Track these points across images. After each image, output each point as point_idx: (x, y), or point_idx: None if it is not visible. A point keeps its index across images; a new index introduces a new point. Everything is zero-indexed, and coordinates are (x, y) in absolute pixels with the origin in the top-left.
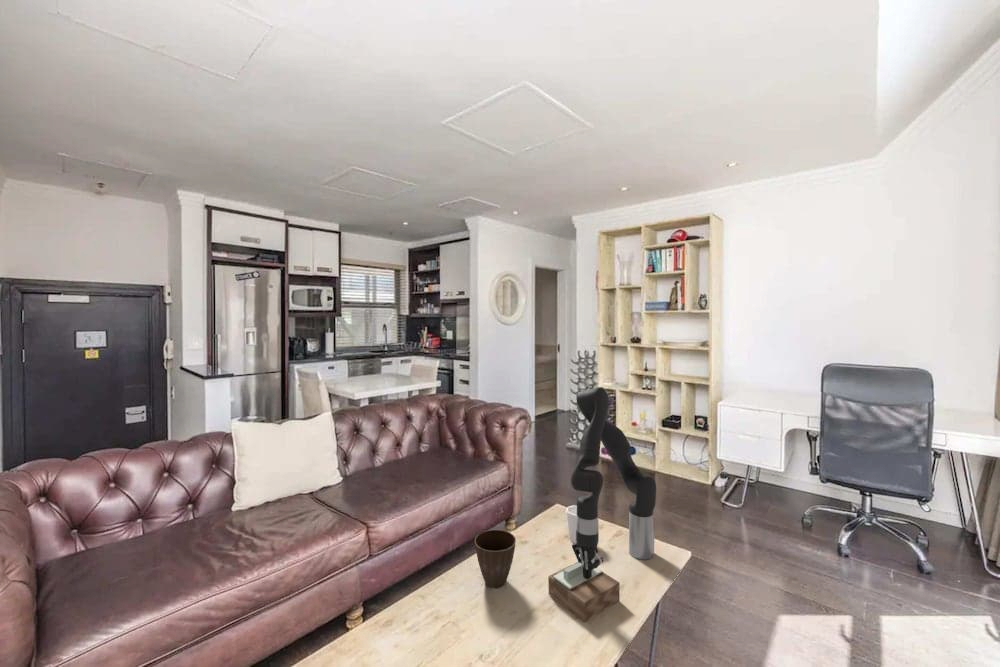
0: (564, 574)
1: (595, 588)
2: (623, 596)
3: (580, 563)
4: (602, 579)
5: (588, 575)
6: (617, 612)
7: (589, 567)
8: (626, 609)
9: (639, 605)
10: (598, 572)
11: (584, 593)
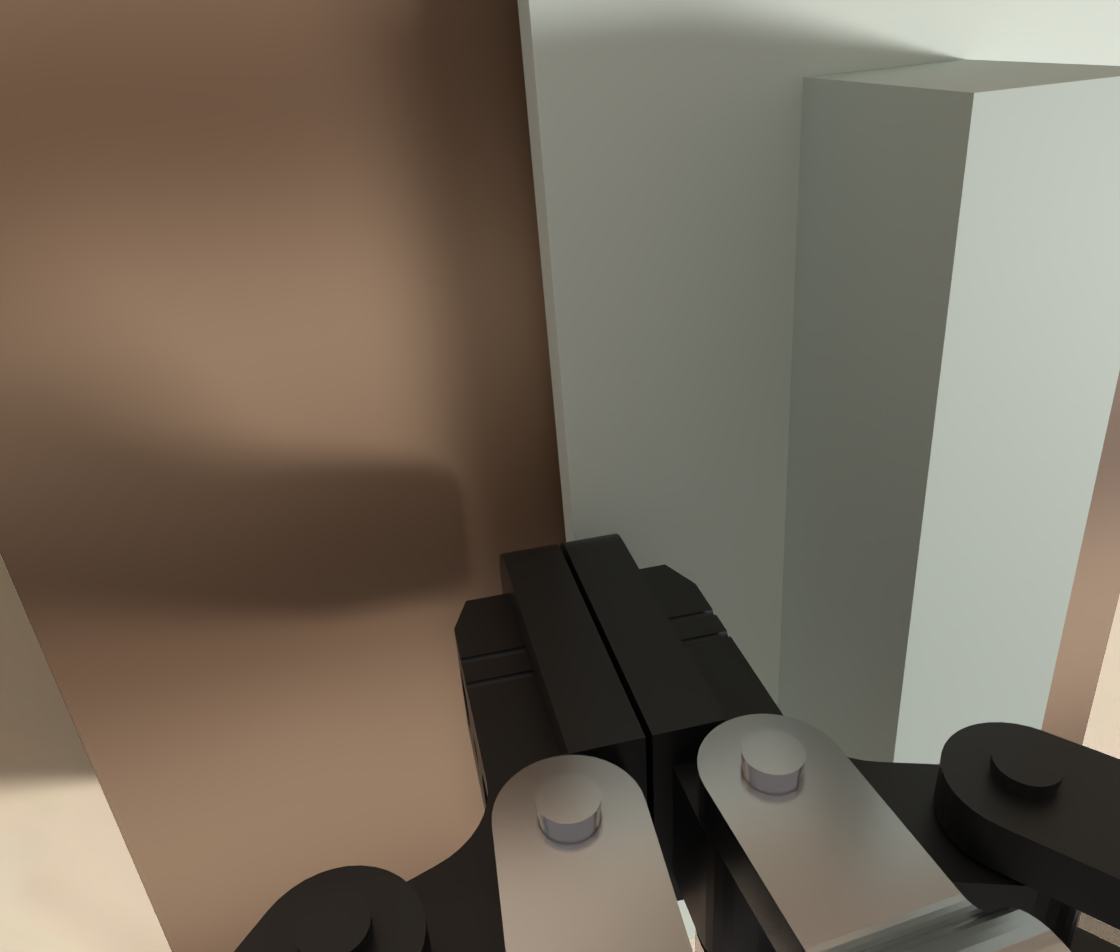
0: (1020, 64)
1: (241, 581)
2: None
3: None
4: (441, 840)
5: (474, 663)
6: (20, 627)
7: (393, 947)
8: (36, 762)
9: (49, 927)
10: None
11: (178, 212)
